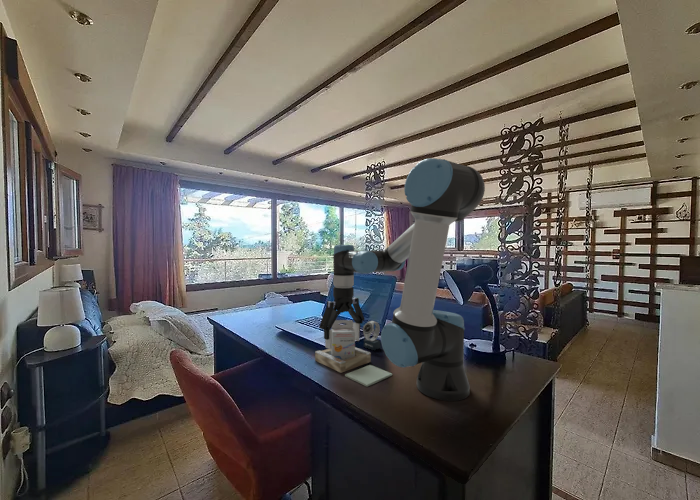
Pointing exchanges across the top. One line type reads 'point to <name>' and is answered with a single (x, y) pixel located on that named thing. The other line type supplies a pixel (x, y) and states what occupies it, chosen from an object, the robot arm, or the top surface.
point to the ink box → (343, 340)
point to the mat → (368, 375)
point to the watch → (367, 330)
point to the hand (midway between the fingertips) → (342, 344)
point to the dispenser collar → (342, 365)
